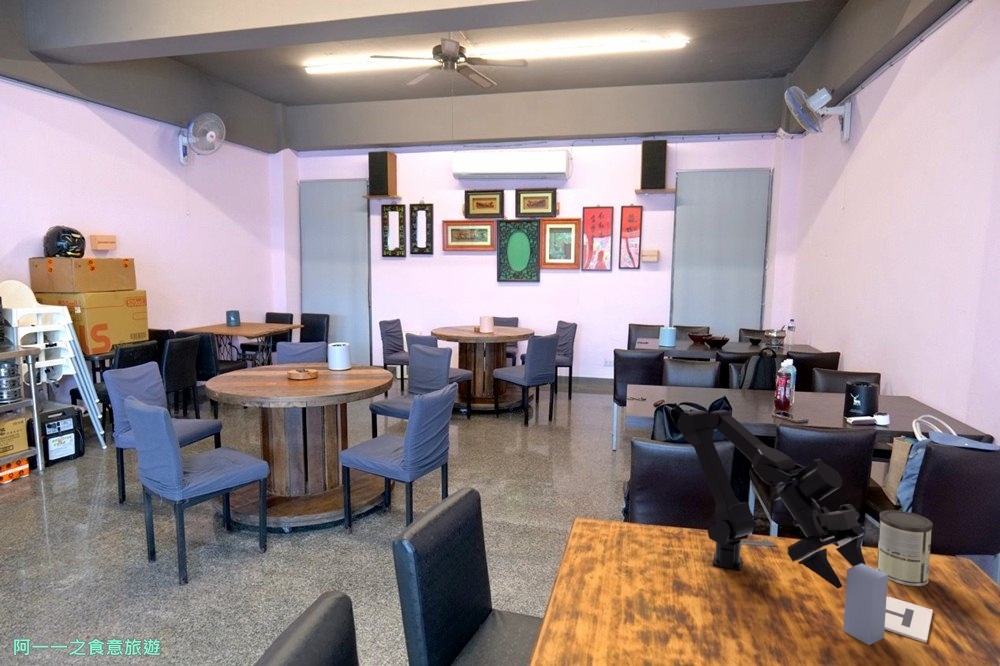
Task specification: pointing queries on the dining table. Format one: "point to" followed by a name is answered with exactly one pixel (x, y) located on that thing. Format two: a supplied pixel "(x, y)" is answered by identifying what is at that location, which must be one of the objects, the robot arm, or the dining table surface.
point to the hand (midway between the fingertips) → (854, 582)
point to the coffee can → (904, 547)
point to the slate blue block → (865, 603)
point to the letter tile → (907, 619)
